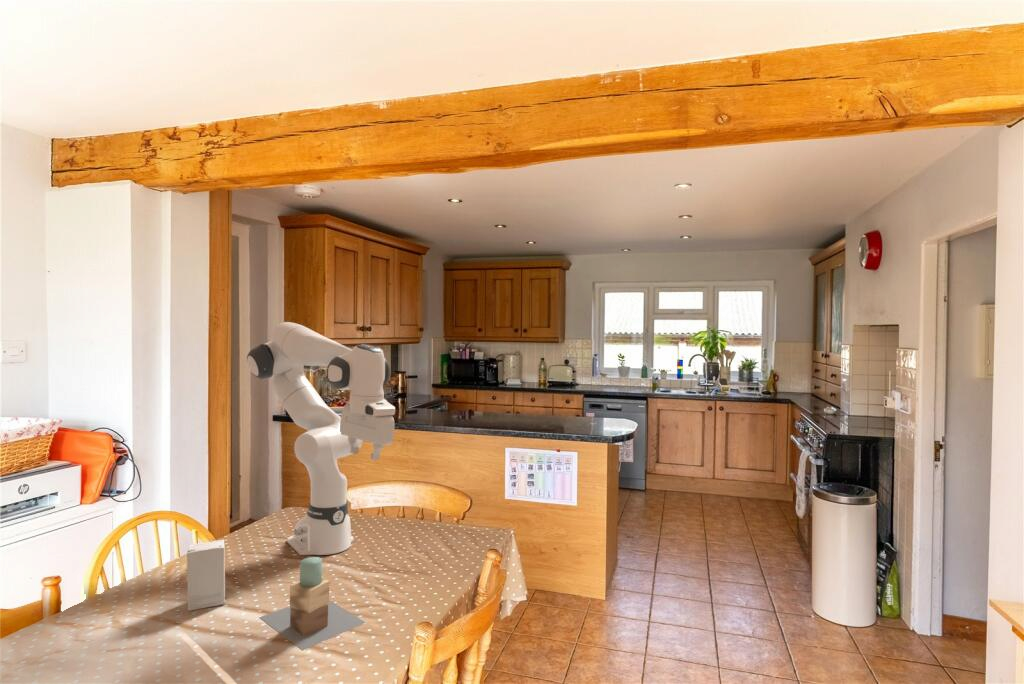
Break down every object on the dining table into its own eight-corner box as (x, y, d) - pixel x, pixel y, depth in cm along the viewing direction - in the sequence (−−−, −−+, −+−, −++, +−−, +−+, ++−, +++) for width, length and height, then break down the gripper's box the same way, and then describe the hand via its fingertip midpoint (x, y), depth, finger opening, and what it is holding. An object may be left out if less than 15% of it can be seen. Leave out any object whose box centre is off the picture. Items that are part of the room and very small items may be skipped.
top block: (289, 607, 126) (290, 585, 126) (309, 596, 131) (310, 575, 131) (309, 613, 123) (309, 591, 123) (328, 602, 129) (329, 580, 129)
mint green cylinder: (295, 582, 127) (296, 561, 127) (314, 576, 131) (315, 555, 131) (306, 589, 124) (307, 567, 124) (325, 582, 128) (326, 561, 128)
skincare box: (225, 595, 143) (226, 538, 143) (224, 606, 138) (225, 546, 137) (187, 601, 139) (189, 542, 139) (185, 612, 134) (186, 551, 134)
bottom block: (290, 626, 127) (290, 604, 127) (314, 616, 132) (314, 595, 132) (303, 636, 123) (304, 613, 123) (327, 625, 128) (328, 604, 128)
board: (258, 621, 131) (259, 617, 131) (320, 598, 143) (320, 594, 143) (302, 654, 118) (302, 650, 118) (366, 626, 130) (366, 622, 130)
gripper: (335, 401, 153) (333, 451, 153) (379, 410, 139) (376, 465, 139) (354, 400, 157) (352, 448, 158) (399, 409, 144) (397, 461, 144)
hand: (364, 456), depth 148 cm, fingers open, 8 cm apart
